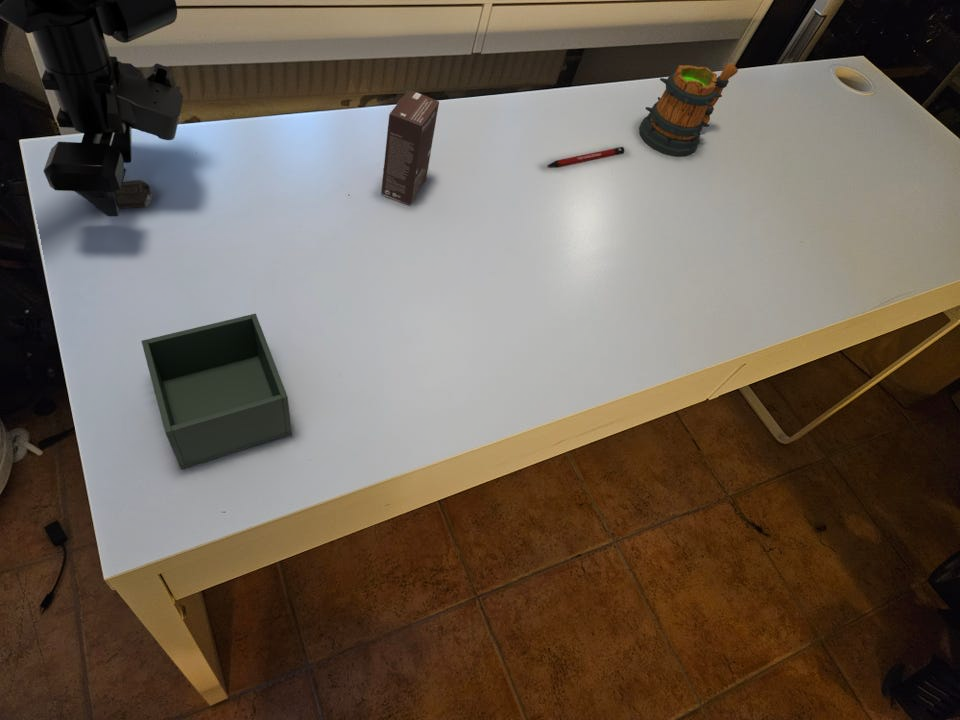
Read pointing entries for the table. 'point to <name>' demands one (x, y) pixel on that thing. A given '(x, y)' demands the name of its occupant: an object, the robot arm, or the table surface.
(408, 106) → the box
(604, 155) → the pencil
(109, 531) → the table surface
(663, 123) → the mug
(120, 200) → the block
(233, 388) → the bin
